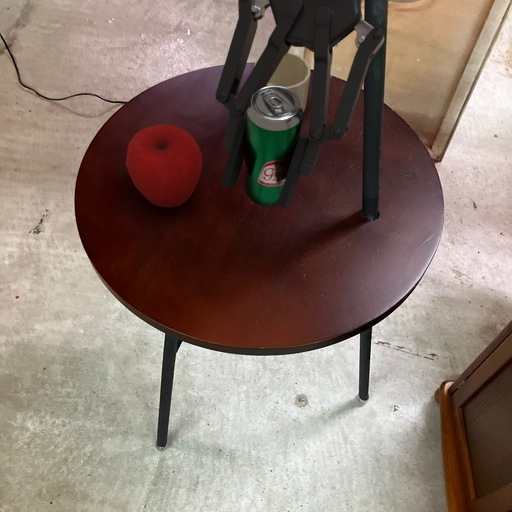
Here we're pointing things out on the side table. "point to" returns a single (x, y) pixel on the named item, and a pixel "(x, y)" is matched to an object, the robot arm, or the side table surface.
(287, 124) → the soda can
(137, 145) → the apple
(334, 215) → the side table surface
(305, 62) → the cup
